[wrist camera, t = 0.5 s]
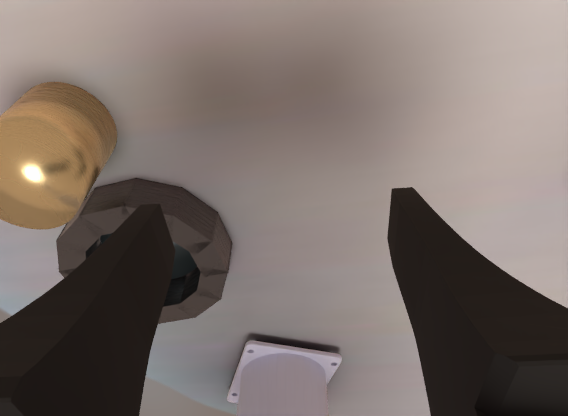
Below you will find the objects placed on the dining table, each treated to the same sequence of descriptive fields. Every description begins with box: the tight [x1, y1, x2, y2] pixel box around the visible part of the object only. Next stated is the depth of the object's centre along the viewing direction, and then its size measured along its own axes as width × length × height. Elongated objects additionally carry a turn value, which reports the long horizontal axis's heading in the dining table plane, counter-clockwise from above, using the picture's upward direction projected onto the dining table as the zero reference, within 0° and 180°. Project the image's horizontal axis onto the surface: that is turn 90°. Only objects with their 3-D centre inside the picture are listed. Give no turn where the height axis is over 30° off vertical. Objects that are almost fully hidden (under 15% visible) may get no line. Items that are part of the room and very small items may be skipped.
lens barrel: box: [56, 178, 232, 324], centre depth 28 cm, size 10×10×3 cm
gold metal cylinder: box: [0, 82, 117, 229], centre depth 21 cm, size 5×5×6 cm
